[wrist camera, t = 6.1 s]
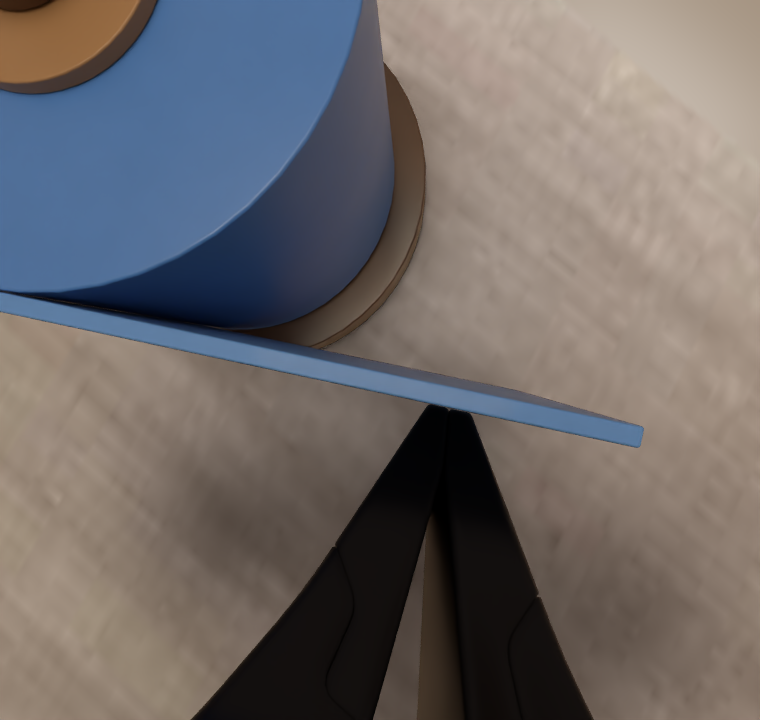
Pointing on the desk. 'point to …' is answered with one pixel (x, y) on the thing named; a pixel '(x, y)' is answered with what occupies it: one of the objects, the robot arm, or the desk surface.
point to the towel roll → (210, 183)
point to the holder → (390, 250)
